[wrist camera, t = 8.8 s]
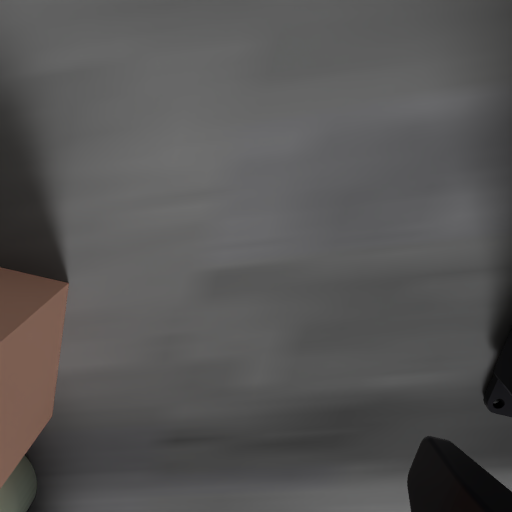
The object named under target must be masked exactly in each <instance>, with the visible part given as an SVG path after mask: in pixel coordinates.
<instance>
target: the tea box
mask: <svg viewBox="0 0 512 512" xmlns="http://www.w3.org/2000/svg"><path fill="white" fill-rule="evenodd" d="M68 286H69V283H66V282H62V281H57V280H53V279H49V278H44V277H40V276H36V275H31V274H27V273H23V272H18V271H14V270H10V269H5V268H1V267H0V489H1V487H2V486H3V484H4V483H5V482H6V480H7V479H8V477H9V476H10V475H11V473H12V472H13V470H14V469H15V468H16V466H17V465H18V463H19V462H20V461H21V459H22V458H23V456H24V455H25V454H26V452H27V451H28V449H29V448H30V447H31V445H32V444H33V442H34V441H35V440H36V438H37V437H38V435H39V434H40V433H41V431H42V430H43V428H44V427H45V425H46V424H47V423H48V421H49V420H50V418H51V417H52V413H53V405H54V397H55V389H56V381H57V373H58V365H59V357H60V349H61V341H62V333H63V325H64V317H65V309H66V301H67V293H68Z"/></svg>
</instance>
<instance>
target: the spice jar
mask: <svg viewBox="0 0 512 512" xmlns="http://www.w3.org/2000/svg"><path fill="white" fill-rule="evenodd" d="M36 491H37V479H36V474H35V471H34V469H33V467H32V465H31V463H30V461H29V460H28V459H27V457H26V456H25V455H24V456H23V458H22V459H21V461H20V462H19V463H18V465H17V466H16V468H15V469H14V470H13V472H12V473H11V475H10V476H9V477H8V479H7V480H6V482H5V483H4V484H3V486H2V487H1V489H0V512H27V510H28V508H29V507H30V505H31V503H32V502H33V500H34V498H35V495H36Z"/></svg>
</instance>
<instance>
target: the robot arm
mask: <svg viewBox="0 0 512 512" xmlns="http://www.w3.org/2000/svg"><path fill="white" fill-rule="evenodd" d="M497 399H500V401H499V402H498V403H493V402H494V401H495V400H497ZM484 404H485V405H486V406H487V408H488V409H489V410H490V411H491V412H493V413H496V414H500V415H505V416H509V417H512V329H511V332H510V334H509V336H508V338H507V341H506V343H505V345H504V348H503V350H502V352H501V354H500V357H499V359H498V361H497V363H496V366H495V368H494V375H493V377H492V380H491V382H490V384H489V386H488V389H487V391H486V393H485V396H484ZM407 486H408V493H409V500H410V507H411V512H512V492H511V491H510V490H509V489H508V488H506V487H505V486H504V485H503V484H501V483H500V482H499V481H498V480H497V479H495V478H494V477H493V476H492V475H491V474H489V473H488V472H487V471H486V470H484V469H483V468H482V467H481V466H480V465H478V464H477V463H476V462H475V461H474V460H472V459H471V458H470V457H469V456H467V455H466V454H465V453H464V452H463V451H461V450H460V449H459V448H458V447H457V446H455V445H454V444H453V443H452V442H450V441H448V440H445V439H441V438H436V437H431V436H427V437H425V438H424V439H423V440H422V442H421V443H420V446H419V448H418V451H417V453H416V456H415V458H414V461H413V463H412V466H411V468H410V471H409V474H408V480H407Z"/></svg>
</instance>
